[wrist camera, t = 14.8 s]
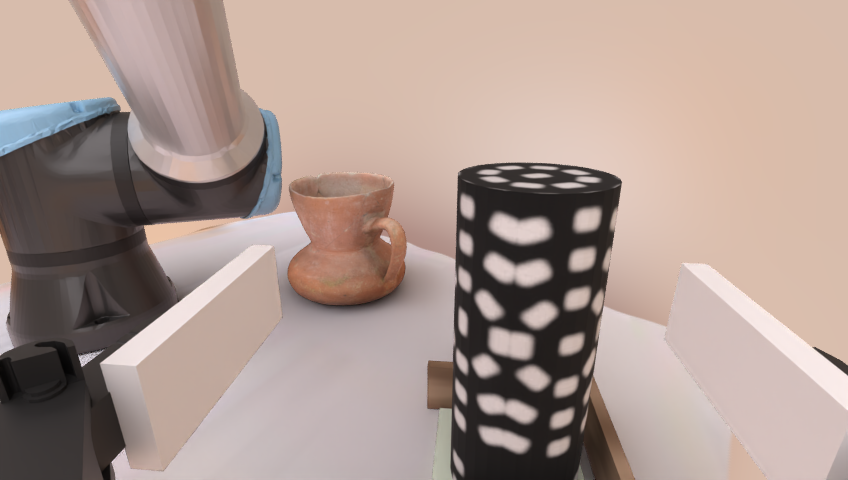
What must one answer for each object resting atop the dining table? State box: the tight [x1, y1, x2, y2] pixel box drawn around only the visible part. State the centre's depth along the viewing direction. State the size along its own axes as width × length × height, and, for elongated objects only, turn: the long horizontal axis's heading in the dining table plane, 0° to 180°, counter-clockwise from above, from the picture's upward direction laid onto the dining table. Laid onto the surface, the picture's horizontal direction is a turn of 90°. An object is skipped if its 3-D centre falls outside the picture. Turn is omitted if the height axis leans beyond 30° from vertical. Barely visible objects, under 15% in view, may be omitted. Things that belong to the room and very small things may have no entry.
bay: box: [427, 361, 635, 480], centre depth 30 cm, size 13×13×4 cm
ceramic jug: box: [288, 172, 407, 305], centre depth 54 cm, size 18×14×14 cm
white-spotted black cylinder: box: [450, 163, 622, 480], centre depth 27 cm, size 8×8×20 cm
